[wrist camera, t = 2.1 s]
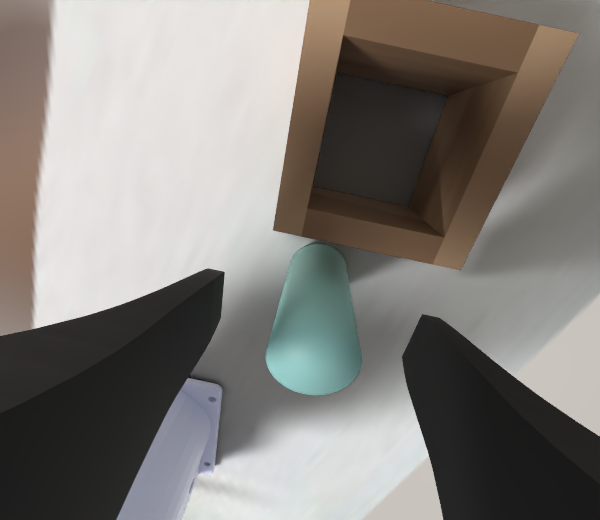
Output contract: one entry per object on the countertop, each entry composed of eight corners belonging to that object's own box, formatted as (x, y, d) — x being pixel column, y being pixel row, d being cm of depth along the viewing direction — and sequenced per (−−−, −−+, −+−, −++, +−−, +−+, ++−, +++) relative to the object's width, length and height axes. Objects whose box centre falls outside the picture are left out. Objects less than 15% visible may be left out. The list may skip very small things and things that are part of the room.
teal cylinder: (338, 299, 14) (347, 403, 9) (285, 288, 14) (260, 384, 9) (353, 250, 13) (374, 334, 7) (295, 238, 13) (273, 312, 7)
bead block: (420, 230, 12) (460, 270, 9) (288, 202, 12) (272, 230, 9) (483, 72, 10) (579, 33, 6) (318, 36, 10) (313, -25, 6)
